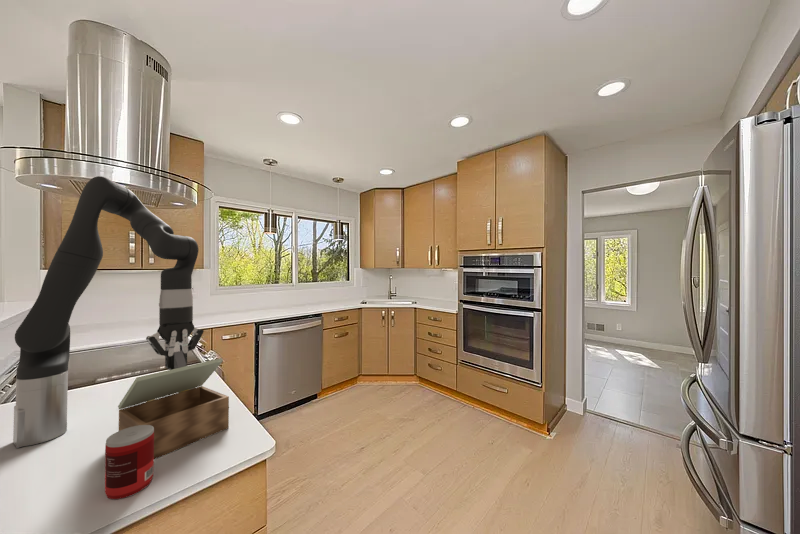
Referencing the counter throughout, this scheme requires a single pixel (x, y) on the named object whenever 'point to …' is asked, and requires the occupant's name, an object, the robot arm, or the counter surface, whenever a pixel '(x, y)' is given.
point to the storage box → (179, 418)
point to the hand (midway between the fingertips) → (176, 367)
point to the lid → (169, 381)
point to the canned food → (129, 461)
